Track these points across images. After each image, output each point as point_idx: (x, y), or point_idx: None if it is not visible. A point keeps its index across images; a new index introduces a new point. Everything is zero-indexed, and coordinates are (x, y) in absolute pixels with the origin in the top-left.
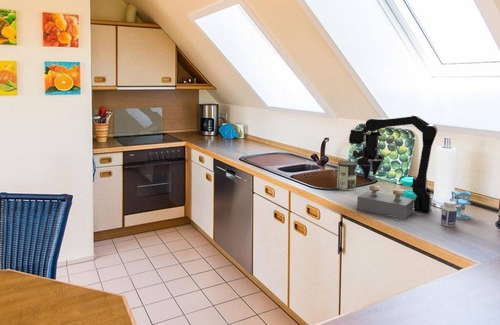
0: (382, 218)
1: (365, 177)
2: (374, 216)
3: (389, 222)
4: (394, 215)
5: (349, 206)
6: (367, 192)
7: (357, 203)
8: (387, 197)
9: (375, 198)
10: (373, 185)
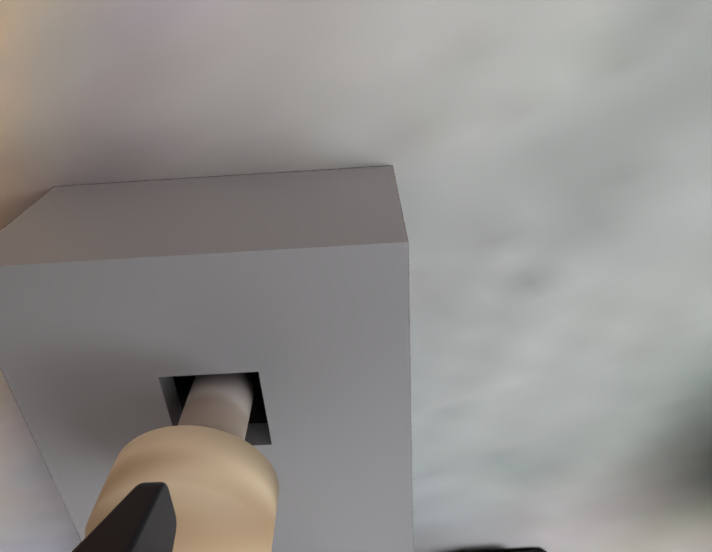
0: (36, 472)
1: (121, 523)
2: (17, 413)
3: (3, 532)
4: None
5: (59, 51)
6: (314, 278)
7: (18, 220)
8: (278, 534)
9: None
10: (214, 519)
